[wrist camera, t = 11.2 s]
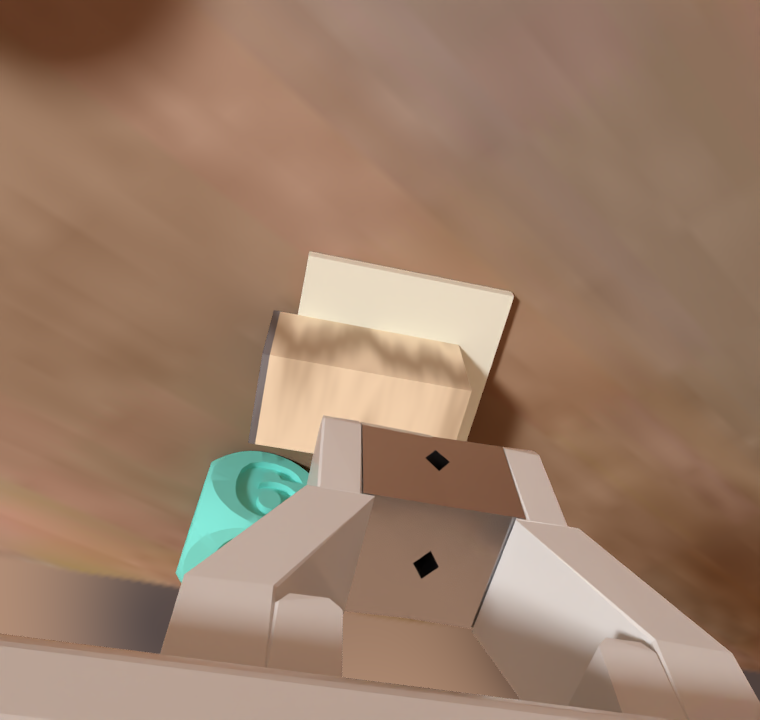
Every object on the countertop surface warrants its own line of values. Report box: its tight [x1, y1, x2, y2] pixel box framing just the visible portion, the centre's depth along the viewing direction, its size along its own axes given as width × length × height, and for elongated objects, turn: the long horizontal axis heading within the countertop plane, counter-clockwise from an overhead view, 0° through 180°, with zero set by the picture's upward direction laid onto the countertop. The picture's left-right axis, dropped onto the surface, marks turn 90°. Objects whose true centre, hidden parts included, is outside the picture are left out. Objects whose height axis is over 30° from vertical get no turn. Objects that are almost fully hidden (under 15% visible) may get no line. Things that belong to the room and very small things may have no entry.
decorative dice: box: [176, 451, 309, 583], centre depth 49 cm, size 8×8×8 cm
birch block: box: [248, 310, 472, 453], centre depth 44 cm, size 6×6×12 cm
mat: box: [298, 251, 514, 441], centre depth 47 cm, size 13×14×1 cm
